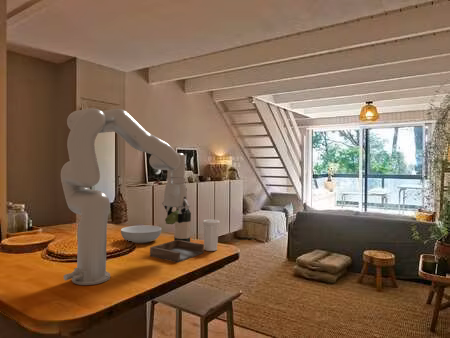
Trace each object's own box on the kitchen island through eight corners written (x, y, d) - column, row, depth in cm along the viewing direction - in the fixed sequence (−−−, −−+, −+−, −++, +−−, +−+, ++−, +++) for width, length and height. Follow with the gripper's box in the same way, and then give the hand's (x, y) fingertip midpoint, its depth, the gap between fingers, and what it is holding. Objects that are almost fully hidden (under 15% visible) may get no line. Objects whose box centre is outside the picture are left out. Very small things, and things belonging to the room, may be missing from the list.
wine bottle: (191, 243, 174) (193, 186, 174) (188, 247, 166) (189, 187, 166) (176, 242, 175) (177, 185, 175) (171, 246, 167) (173, 186, 167)
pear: (186, 209, 149) (171, 216, 141) (187, 220, 150) (172, 228, 142) (176, 208, 152) (161, 214, 144) (177, 219, 153) (162, 226, 145)
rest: (177, 262, 141) (177, 253, 141) (149, 256, 149) (150, 247, 149) (203, 253, 157) (203, 244, 157) (177, 247, 165) (177, 239, 165)
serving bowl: (149, 235, 191) (150, 223, 191) (168, 243, 175) (168, 229, 175) (114, 240, 178) (114, 227, 178) (130, 248, 162) (130, 234, 161)
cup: (210, 247, 168) (211, 218, 168) (222, 250, 163) (223, 221, 162) (198, 249, 163) (199, 220, 162) (210, 253, 157) (211, 222, 157)
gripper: (155, 180, 149) (155, 220, 149) (185, 182, 140) (185, 225, 140) (167, 179, 155) (166, 218, 155) (196, 181, 146) (196, 222, 146)
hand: (175, 221), depth 148 cm, fingers closed on pear, 5 cm apart
